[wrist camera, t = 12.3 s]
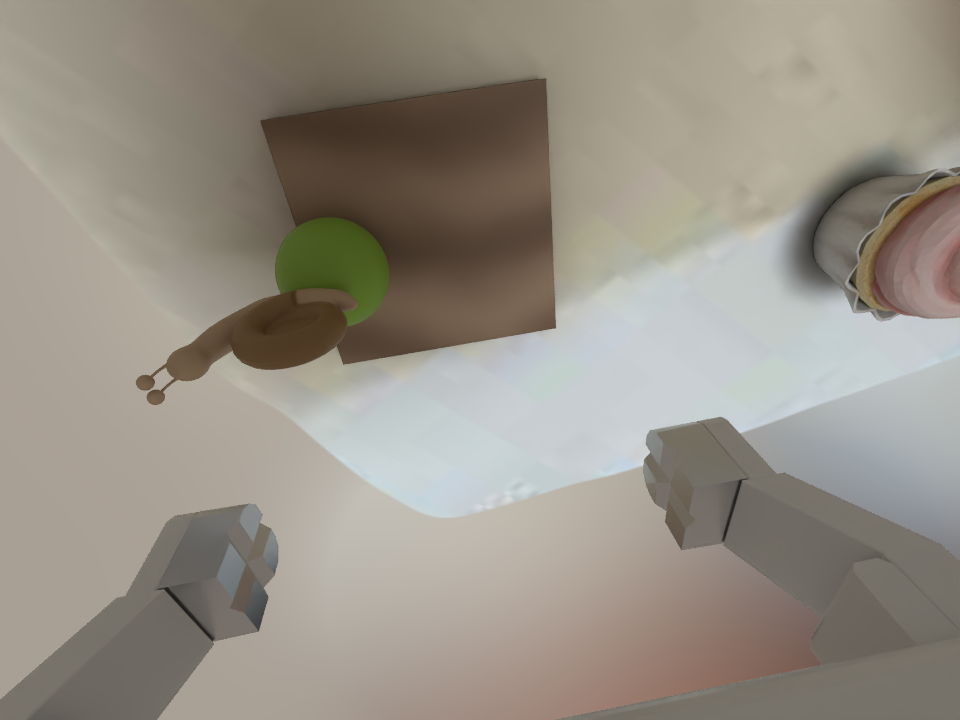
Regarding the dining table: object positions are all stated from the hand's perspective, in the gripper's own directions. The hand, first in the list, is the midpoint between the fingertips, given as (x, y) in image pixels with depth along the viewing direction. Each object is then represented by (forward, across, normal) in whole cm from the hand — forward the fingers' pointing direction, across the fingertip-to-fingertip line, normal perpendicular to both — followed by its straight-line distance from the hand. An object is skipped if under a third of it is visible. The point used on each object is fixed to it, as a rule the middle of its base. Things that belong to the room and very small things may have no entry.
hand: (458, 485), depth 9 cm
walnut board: (+20, 0, +1) cm, 20 cm away
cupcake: (+20, -28, +5) cm, 35 cm away
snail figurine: (+18, +5, 0) cm, 19 cm away
